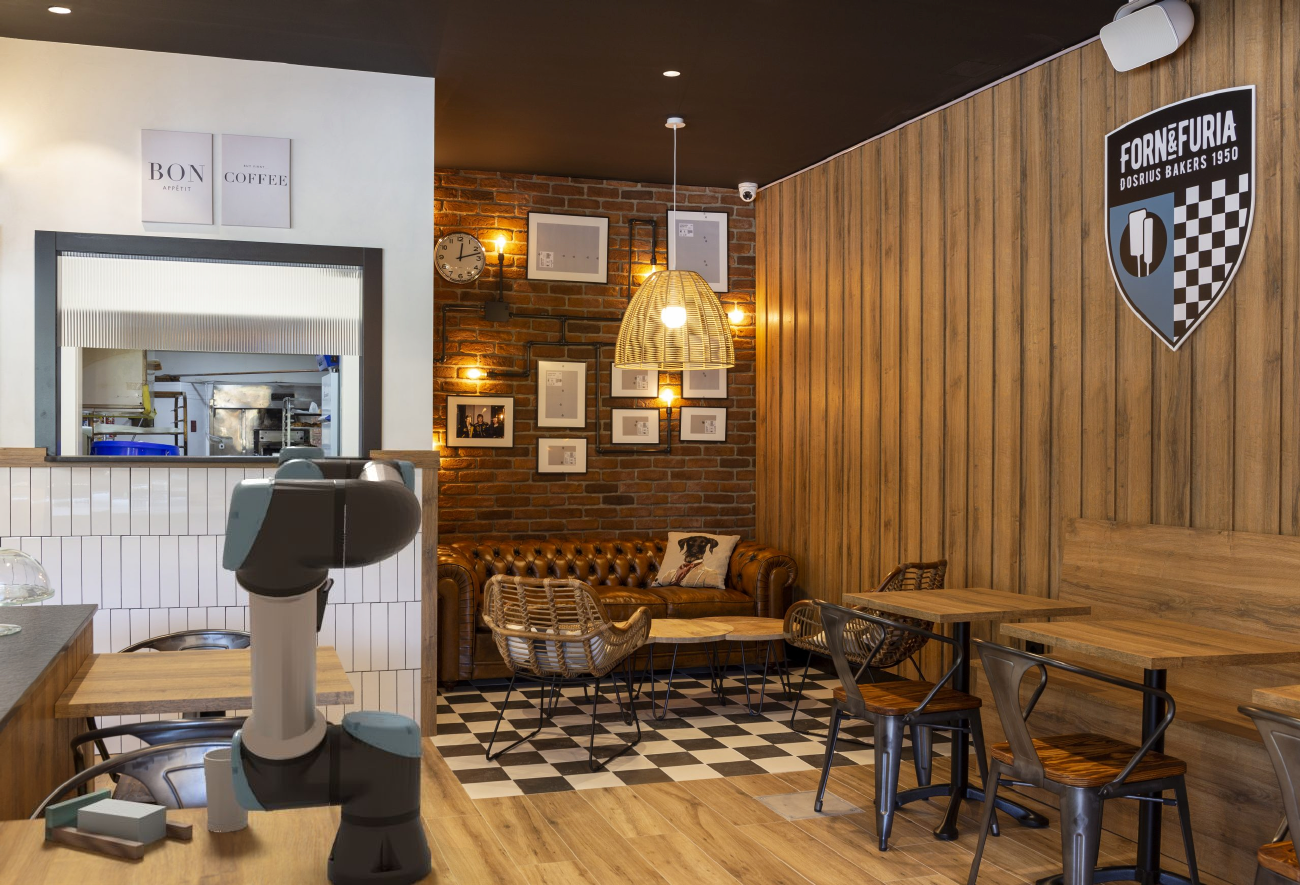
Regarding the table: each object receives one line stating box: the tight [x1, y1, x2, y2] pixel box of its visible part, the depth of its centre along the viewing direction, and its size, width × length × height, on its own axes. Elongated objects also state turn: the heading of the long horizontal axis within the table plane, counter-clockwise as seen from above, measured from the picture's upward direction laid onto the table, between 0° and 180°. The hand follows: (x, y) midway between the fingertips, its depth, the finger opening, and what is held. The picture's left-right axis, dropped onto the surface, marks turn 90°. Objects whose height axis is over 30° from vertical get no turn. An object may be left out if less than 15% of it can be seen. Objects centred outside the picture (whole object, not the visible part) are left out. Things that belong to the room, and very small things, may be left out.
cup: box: [202, 746, 249, 833], centre depth 182 cm, size 8×8×12 cm
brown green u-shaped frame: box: [44, 788, 194, 861], centre depth 175 cm, size 20×11×5 cm, turn 66°
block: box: [77, 798, 168, 847], centre depth 175 cm, size 12×6×5 cm, turn 73°
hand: (297, 674), depth 187 cm, fingers closed
